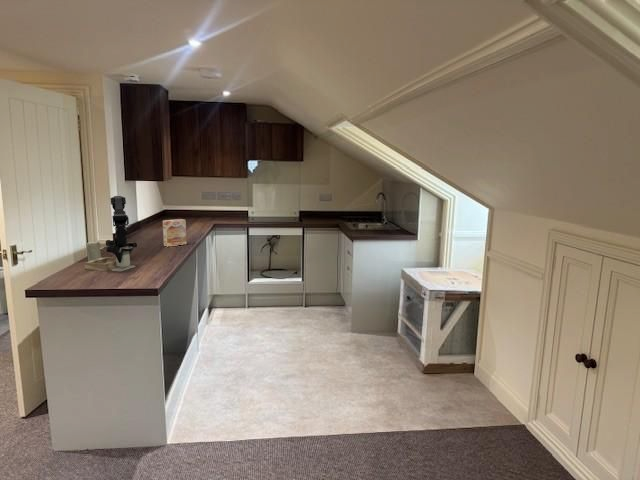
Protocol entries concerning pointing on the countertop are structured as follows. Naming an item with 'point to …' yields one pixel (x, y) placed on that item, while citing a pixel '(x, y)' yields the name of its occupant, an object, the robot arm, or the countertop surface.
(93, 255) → the skincare box
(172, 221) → the coffeecake box
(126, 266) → the grey mat
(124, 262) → the sage box
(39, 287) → the countertop surface
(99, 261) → the wooden frame
